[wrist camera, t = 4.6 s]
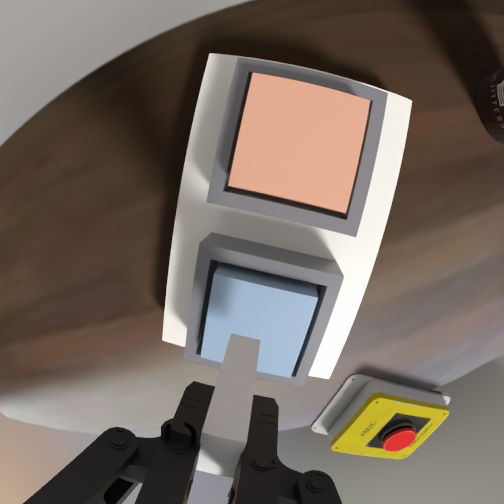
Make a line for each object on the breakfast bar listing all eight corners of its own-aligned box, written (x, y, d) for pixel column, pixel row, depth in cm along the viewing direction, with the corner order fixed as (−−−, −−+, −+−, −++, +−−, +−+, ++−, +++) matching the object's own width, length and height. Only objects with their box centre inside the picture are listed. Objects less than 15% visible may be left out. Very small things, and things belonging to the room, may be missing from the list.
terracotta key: (236, 183, 17) (228, 185, 15) (257, 85, 15) (253, 72, 13) (337, 207, 17) (345, 213, 14) (359, 109, 15) (370, 100, 13)
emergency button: (414, 467, 24) (308, 456, 24) (406, 443, 29) (307, 426, 29) (465, 417, 22) (359, 398, 22) (451, 393, 26) (351, 368, 26)
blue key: (209, 337, 21) (200, 357, 18) (222, 260, 19) (214, 273, 17) (290, 356, 21) (290, 377, 18) (314, 281, 19) (318, 298, 16)
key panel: (174, 323, 26) (148, 360, 20) (218, 66, 19) (197, 36, 14) (325, 358, 25) (332, 403, 19) (397, 107, 19) (430, 91, 13)
